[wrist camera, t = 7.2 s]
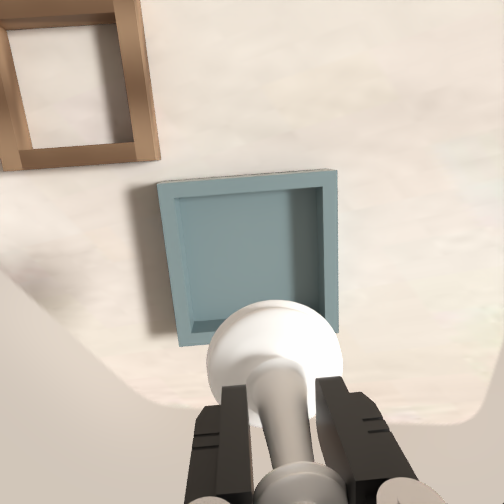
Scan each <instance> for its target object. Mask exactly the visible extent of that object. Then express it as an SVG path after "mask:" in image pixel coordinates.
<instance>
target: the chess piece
mask: <svg viewBox="0 0 504 504" xmlns="http://www.w3.org/2000/svg"><path fill="white" fill-rule="evenodd" d="M206 364H207V373H208V381H209V385H210V388H211V391H212V393H213V395H214V397H215V399H216V401H217V402H218V403H219V405H221V393H222V386H232V385H243V384H246V390H247V401H248V413H249V424H250V425H251V426H254V427H259V428H263V431H264V435H265V439H266V442H267V446H268V450H269V454H270V458H271V463H272V467H273V470H272V471H271V472H269V473H268V474H267V475H266V476H265V477H264V478H263V479H262V480H261V481H260V482H259V483H258V485H257V487H256V489H255V491H254V494H253V504H348V499H347V491H346V484H345V482H344V480H343V479H342V478H341V476H340V475H339V474H338V473H337V472H335V471H334V470H333V469H331V468H329V467H327V466H325V465H323V464H320V463H316V462H314V456H313V449H312V442H311V433H310V424H309V419H310V418H312V417H314V416H315V415H316V401H315V379H316V378H321V377H332V376H341V377H342V371H343V360H342V354H341V350H340V347H339V342H338V339H337V337H336V334H335V332H334V331H333V329H332V327H331V326H330V325H329V323H328V322H327V321H326V320H325V319H324V318H323V317H322V316H321V315H320V314H318V313H317V312H316V311H314V310H313V309H311V308H309V307H307V306H305V305H302V304H299V303H296V302H292V301H287V300H266V301H261V302H256V303H253V304H250V305H248V306H245V307H243V308H241V309H239V310H238V311H236V312H235V313H233V314H232V315H231V316H229V317H228V318H227V319H226V320H225V321H224V322H223V323H222V324H221V325H220V326H219V328H218V329H217V330H216V332H215V334H214V335H213V337H212V339H211V342H210V344H209V348H208V352H207V360H206Z"/></svg>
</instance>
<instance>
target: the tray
mask: <svg viewBox="0 0 504 504" xmlns="http://www.w3.org/2000/svg"><path fill="white" fill-rule="evenodd" d="M157 190H158V198H159V205H160V212H161V219H162V226H163V233H164V241H165V248H166V255H167V262H168V269H169V277H170V284H171V291H172V298H173V305H174V312H175V320H176V327H177V334H178V341H179V347H183V346H195V345H206V344H210V342H211V339H212V337H213V335H214V334H215V332H216V330H217V329H218V328H219V326H220V325H221V324H222V323H223V322H224V321H225V320H226V319H227V318H228V317H229V316H231V315H232V314H233V313H235V312H236V311H238V310H239V309H241V308H243V307H245V306H248V305H250V304H253V303H256V302H261V301H266V300H287V301H292V302H296V303H299V304H302V305H305V306H307V307H309V308H311V309H313V310H314V311H316V312H317V313H318V314H320V315H321V316H322V317H323V318H324V319H325V320H326V321H327V322H328V323H329V325H330V326H331V327H332V329H333V331H334V332H335V333H339V313H338V191H337V170H333V169H317V170H304V171H291V172H278V173H264V174H251V175H238V176H225V177H211V178H198V179H185V180H171V181H163V182H160V183H158V184H157Z"/></svg>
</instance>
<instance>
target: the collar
mask: <svg viewBox="0 0 504 504" xmlns="http://www.w3.org/2000/svg"><path fill="white" fill-rule="evenodd" d="M112 23H116V25H117V32H118V38H119V45H120V52H121V58H122V65H123V71H124V78H125V85H126V91H127V98H128V105H129V111H130V118H131V125H132V131H133V138H134V142H127V143H113V144H100V145H86V146H72V147H58V148H44V149H33V147H32V143H31V138H30V134H29V130H28V125H27V121H26V116H25V112H24V107H23V103H22V98H21V94H20V89H19V85H18V80H17V76H16V71H15V67H14V62H13V58H12V53H11V49H10V44H9V40H8V35H7V31H6V30H16V29H32V28H48V27H64V26H80V25H96V24H112ZM0 158H1V162H2V166H3V171H16V170H30V169H43V168H57V167H70V166H84V165H98V164H111V163H125V162H138V161H152V160H161V155H160V147H159V140H158V132H157V125H156V117H155V110H154V102H153V95H152V87H151V80H150V72H149V65H148V57H147V50H146V42H145V35H144V27H143V20H142V13H141V5H140V0H0Z"/></svg>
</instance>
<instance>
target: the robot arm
mask: <svg viewBox="0 0 504 504" xmlns="http://www.w3.org/2000/svg"><path fill="white" fill-rule="evenodd" d="M315 401H316V426H317V433H318V439H319V443H320V447H321V450H322V453H323V457H324V460H325V464H326V466H327V467H329V468H331V469H333V470H334V471H335V472H337V473H338V474H339V475H340V476H341V478H342V479H343V480H344V482H345V484H346V491H347V499H348V504H446V503H445V501H444V500H443V499H442V497H440V495H439V494H438V493H437V492H436V491H434V490H433V489H432V488H431V487H429V486H428V485H426V484H424V483H422V482H420V481H419V480H418V478H417V477H416V475H415V474H414V471H413V470H412V468H411V466H410V464H409V462H408V461H407V459H406V457H405V456H404V454H403V452H402V450H401V448H400V447H399V445H398V443H397V441H396V440H395V438H394V436H393V434H392V433H391V432H390V431H389V427H388V425H387V424H386V422H385V420H383V417H382V415H381V413H380V411H379V409H378V408H377V406H376V404H375V403H374V402H373V401H372V400H371V399H369V398H368V397H367V396H366V395H364V394H363V393H362V392H354V393H349V391H348V389H347V387H346V385H345V383H344V381H343V379H342V377H341V376H332V377H321V378H316V379H315ZM253 494H254V484H253V467H252V452H251V437H250V424H249V413H248V401H247V390H246V384H243V385H232V386H222V393H221V405H213V406H205V407H204V408H203V410H202V411H201V413H200V414H199V416H198V417H197V419H196V423H195V431H194V438H193V444H192V452H191V458H190V465H189V472H188V479H187V486H186V494H185V501H184V504H253ZM503 504H504V503H503Z"/></svg>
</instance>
